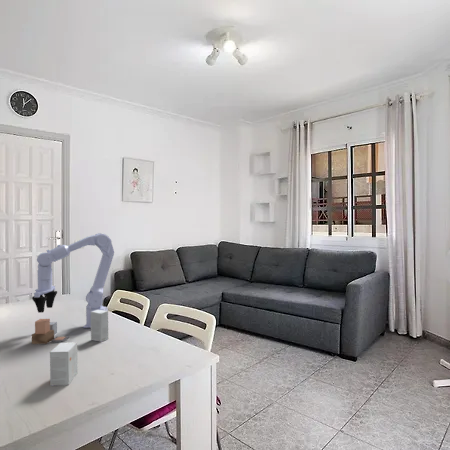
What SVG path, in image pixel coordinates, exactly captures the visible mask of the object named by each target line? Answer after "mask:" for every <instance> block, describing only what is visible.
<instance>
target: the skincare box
mask: <svg viewBox="0 0 450 450" xmlns="http://www.w3.org/2000/svg"><path fill="white" fill-rule="evenodd" d="M90 340H91V341H95V342H100V343H102V342H104V341H107V340H109V310H108V311H104V310H95V311H92V312H91V328H90Z"/></svg>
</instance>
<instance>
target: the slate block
mask: <svg viewBox="0 0 450 450" xmlns="http://www.w3.org/2000/svg"><path fill="white" fill-rule="evenodd" d="M50 330H54V336H55V335H57V333H58V322H57V321H50Z"/></svg>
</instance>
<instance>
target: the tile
mask: <svg viewBox="0 0 450 450" xmlns="http://www.w3.org/2000/svg"><path fill="white" fill-rule="evenodd" d="M69 338H70V337H69V336H56V337H54V339H53V340H52V341H50V343H65V342H66V341H67V340H68V339H69Z"/></svg>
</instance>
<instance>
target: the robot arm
mask: <svg viewBox="0 0 450 450" xmlns="http://www.w3.org/2000/svg"><path fill="white" fill-rule="evenodd" d="M112 242H113V241H112V239H111V238H110V237H109V236H108V235H107V234H106V233H101V232H97V233H96V234H91V235H89V236H86V237H84V238H82V239H79V240H77V241H75V242H73V243H71V244H69V245H66V244H57V246H56V247H53V248H51V249H47V250H46V251H45V252H40V254H38V256H37V258H36V262H37V264H38V265H37V288H36V289H35V290H34V291H35V292H34V293H33V296H31V299H32V301H33V302H34V304H35V307H36V310H37V312H38V313H44V311H45V305H46V308H48V309H53V306H54V302H55V298H56V296H57V294H58V291H57V290H56V285H53V268H52V264H53V262H56V261H57V262H58V261H60V260H62V259H64V258H65V259H66V257H68V256H70V254H71V252H74V251H77V250H79V249H81V248H83V247H87V246H95V247H97V248H98V249H99V251H100V253H102V256H101V259H100V262H99V265H98V269H97V271H96V274H95V277H94V281H93V283H92V286H91V288H90V290H89V292H88V293H87V294H86V296H85V301H86V302H87V304H86V306H85V312H86V313H85V314H86V315H85V317H86V319H85V322H86V323H85V325H83V326H82V328H84V329H87V328H88V329H89V328H90V329H91V312H92V311H95V310H104V311H108V312H109V309H108V307H107V306H104V305H103V301H104V299H103V296H104V288H105V287H104V286H105V284H106V280H107V277H108V274H109V272H110V271H109V270H110V267H111V264H112V262H113V259H114V255H115V251H114V247H113V243H112Z"/></svg>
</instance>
